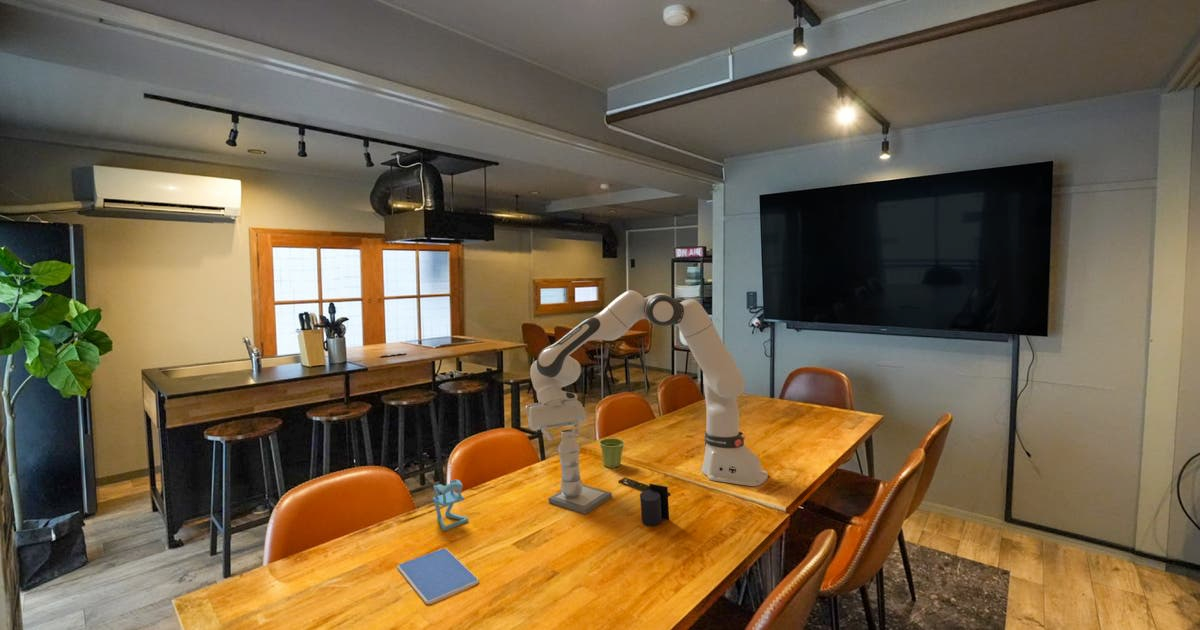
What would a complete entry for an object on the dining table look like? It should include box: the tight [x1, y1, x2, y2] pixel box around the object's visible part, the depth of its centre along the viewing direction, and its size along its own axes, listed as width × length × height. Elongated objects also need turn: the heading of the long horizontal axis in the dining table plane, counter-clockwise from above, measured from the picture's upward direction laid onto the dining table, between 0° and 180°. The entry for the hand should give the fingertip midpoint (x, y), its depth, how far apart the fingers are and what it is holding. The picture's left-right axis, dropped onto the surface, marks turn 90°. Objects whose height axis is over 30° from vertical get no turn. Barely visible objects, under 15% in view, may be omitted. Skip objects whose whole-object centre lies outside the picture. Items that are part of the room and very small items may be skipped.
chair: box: [432, 479, 469, 531], centre depth 146 cm, size 8×8×12 cm
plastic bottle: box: [557, 429, 583, 497], centre depth 159 cm, size 6×7×20 cm
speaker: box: [639, 483, 670, 527], centre depth 145 cm, size 8×6×10 cm
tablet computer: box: [396, 547, 480, 605], centre depth 121 cm, size 19×13×1 cm, turn 40°
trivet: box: [548, 483, 613, 515], centre depth 160 cm, size 14×14×2 cm
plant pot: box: [598, 437, 626, 469], centre depth 189 cm, size 9×9×9 cm
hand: (563, 437), depth 170 cm, fingers open, 8 cm apart
